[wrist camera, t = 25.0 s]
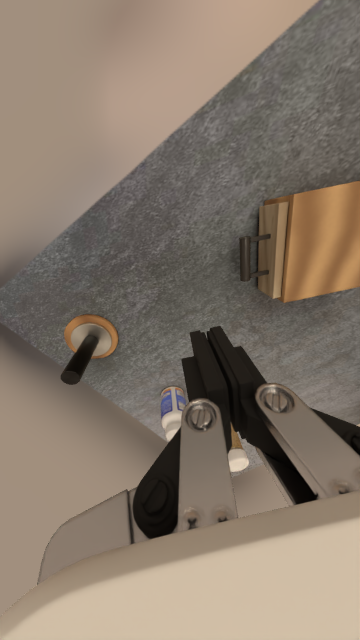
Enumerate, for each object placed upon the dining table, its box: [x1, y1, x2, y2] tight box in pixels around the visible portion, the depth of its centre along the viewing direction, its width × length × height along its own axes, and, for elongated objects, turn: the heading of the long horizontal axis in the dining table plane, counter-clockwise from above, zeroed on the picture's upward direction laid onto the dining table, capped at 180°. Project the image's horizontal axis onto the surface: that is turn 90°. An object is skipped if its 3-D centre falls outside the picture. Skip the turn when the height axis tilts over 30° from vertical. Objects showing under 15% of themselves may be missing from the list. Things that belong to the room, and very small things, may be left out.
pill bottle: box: [161, 387, 186, 441], centre depth 39 cm, size 5×5×10 cm
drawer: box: [239, 202, 289, 299], centre depth 27 cm, size 18×12×5 cm
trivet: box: [64, 314, 118, 359], centre depth 33 cm, size 9×9×1 cm
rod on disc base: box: [61, 322, 112, 385], centre depth 29 cm, size 7×7×10 cm
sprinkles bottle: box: [228, 424, 249, 472], centre depth 40 cm, size 5×5×13 cm
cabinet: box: [265, 181, 360, 303], centre depth 27 cm, size 15×14×7 cm
